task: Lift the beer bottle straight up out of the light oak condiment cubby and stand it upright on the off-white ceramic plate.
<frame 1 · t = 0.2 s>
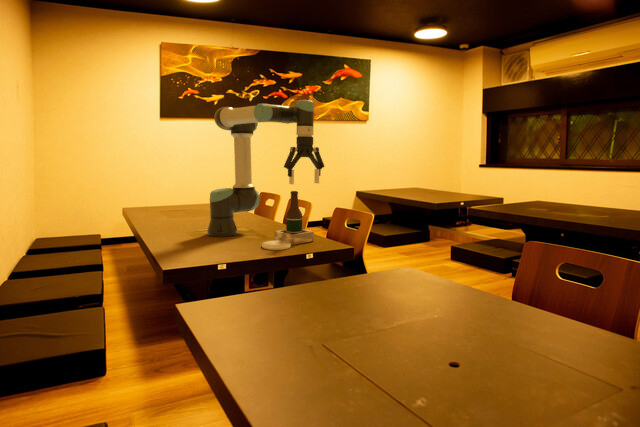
hand: (304, 183, 199), 28 cm above the table, fingers open, 13 cm apart
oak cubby: (294, 240, 213), on the table
beer bottle: (294, 240, 213), resting in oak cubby
ceramic plate: (276, 246, 199), on the table
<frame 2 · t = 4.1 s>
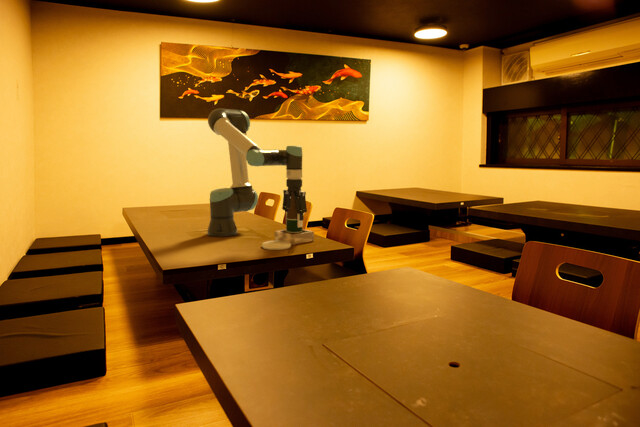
hand: (294, 225, 212), 7 cm above the table, fingers closed on beer bottle, 8 cm apart
beer bottle: (294, 240, 213), resting in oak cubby, touching gripper
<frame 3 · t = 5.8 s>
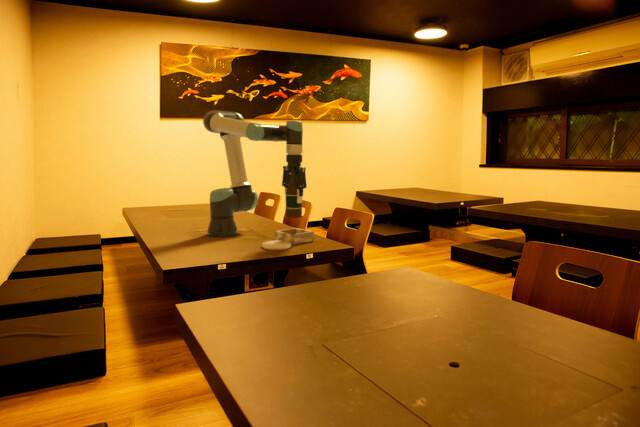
hand: (293, 202, 210), 19 cm above the table, fingers closed on beer bottle, 8 cm apart
beer bottle: (293, 217, 211), point 11 cm above the table, touching gripper
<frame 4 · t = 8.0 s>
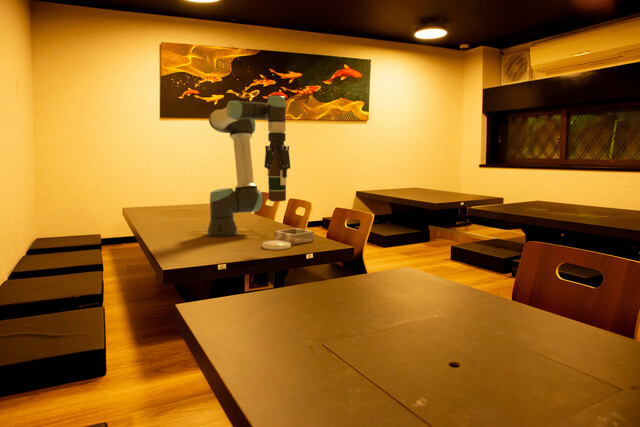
hand: (277, 184, 195), 28 cm above the table, fingers closed on beer bottle, 8 cm apart
beer bottle: (277, 200, 196), point 21 cm above the table, touching gripper
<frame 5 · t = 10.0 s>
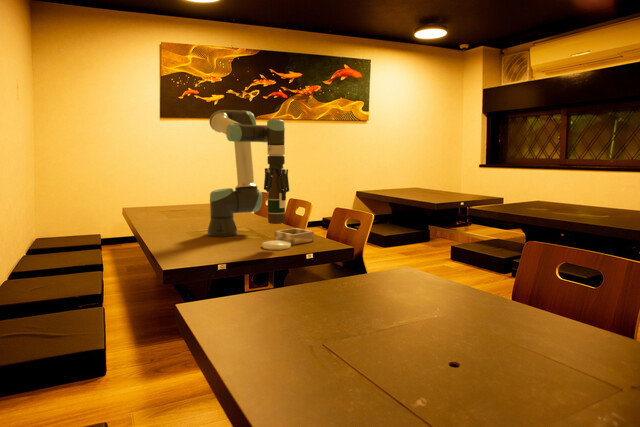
hand: (276, 206, 196), 18 cm above the table, fingers closed on beer bottle, 8 cm apart
beer bottle: (276, 223, 197), point 11 cm above the table, touching gripper
when the fingers open (10 cm above the table, at t = 12.0 s): beer bottle drops 1 cm, resting on ceramic plate.
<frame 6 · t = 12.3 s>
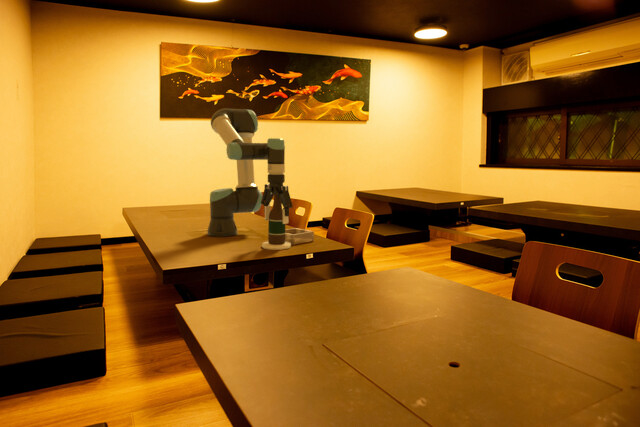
hand: (276, 221, 197), 11 cm above the table, fingers open, 12 cm apart
beer bottle: (276, 243, 199), point 1 cm above the table, touching ceramic plate
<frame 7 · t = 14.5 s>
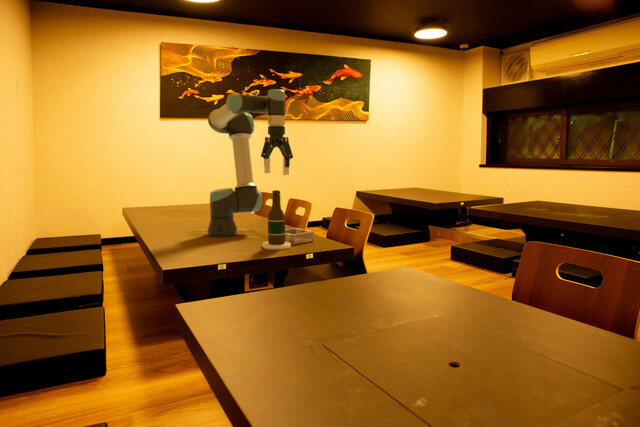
hand: (276, 174, 197), 33 cm above the table, fingers open, 13 cm apart
nothing on the table moved.
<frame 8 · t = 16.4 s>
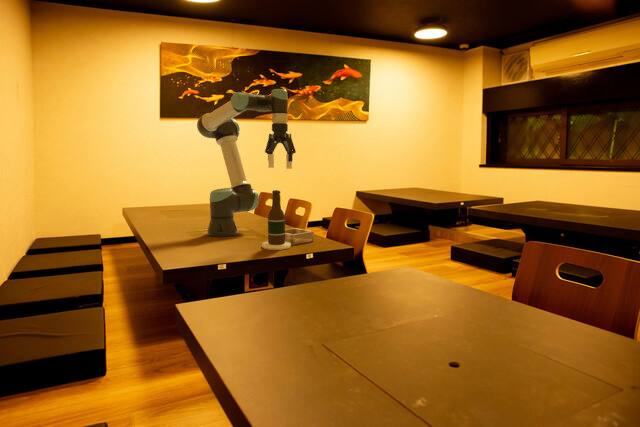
hand: (279, 168, 211), 35 cm above the table, fingers open, 13 cm apart
nothing on the table moved.
at the end: beer bottle inside the target area on the ceramic plate (0.0 cm from its centre), point 1.3 cm above the ceramic plate's base; beer bottle tilted 0°; the gripper is holding nothing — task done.
